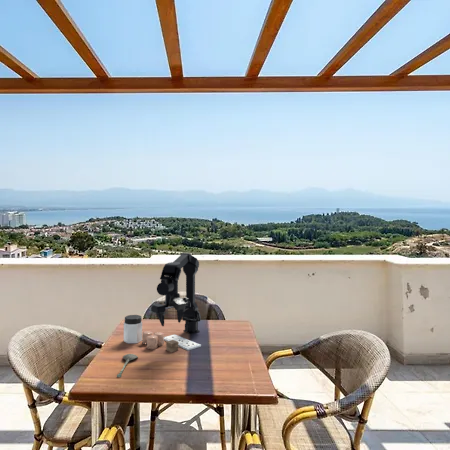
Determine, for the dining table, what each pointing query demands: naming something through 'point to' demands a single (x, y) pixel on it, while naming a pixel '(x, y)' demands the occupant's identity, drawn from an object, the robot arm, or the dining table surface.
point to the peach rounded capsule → (160, 338)
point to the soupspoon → (128, 358)
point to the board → (183, 342)
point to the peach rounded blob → (152, 342)
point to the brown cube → (172, 345)
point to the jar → (132, 329)
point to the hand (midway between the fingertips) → (171, 324)
